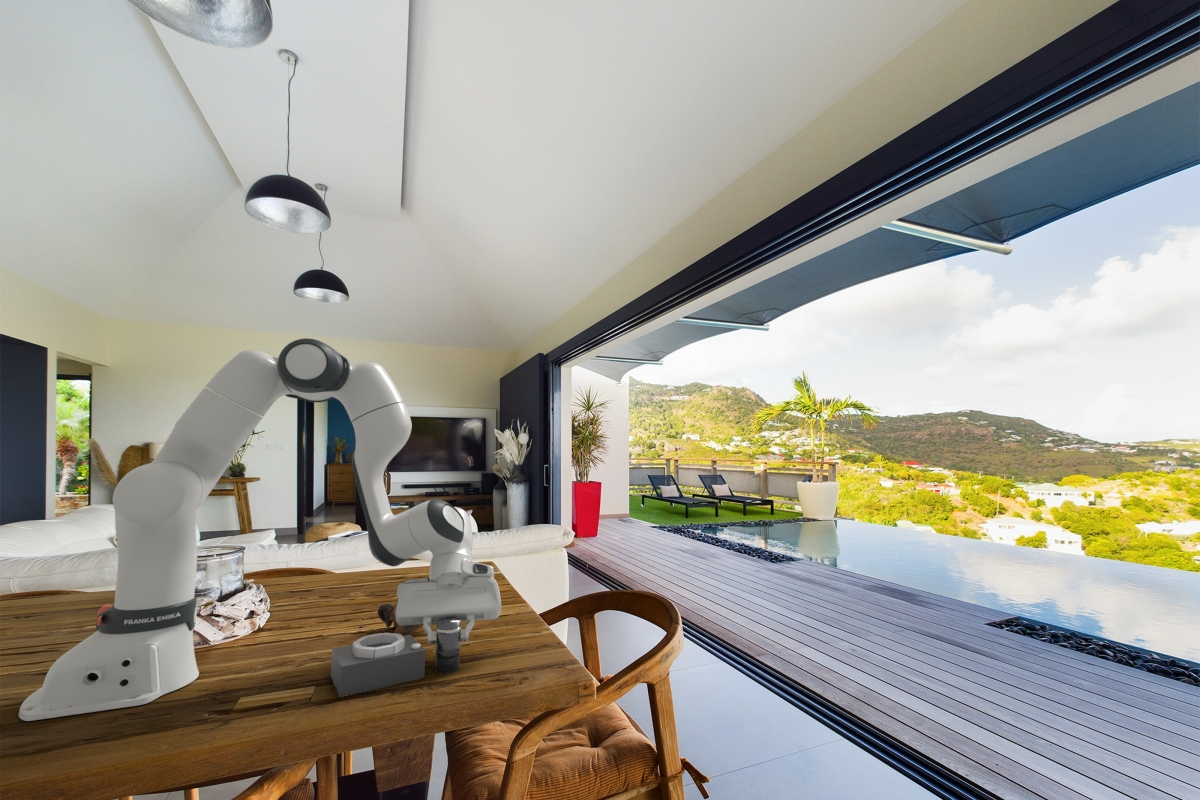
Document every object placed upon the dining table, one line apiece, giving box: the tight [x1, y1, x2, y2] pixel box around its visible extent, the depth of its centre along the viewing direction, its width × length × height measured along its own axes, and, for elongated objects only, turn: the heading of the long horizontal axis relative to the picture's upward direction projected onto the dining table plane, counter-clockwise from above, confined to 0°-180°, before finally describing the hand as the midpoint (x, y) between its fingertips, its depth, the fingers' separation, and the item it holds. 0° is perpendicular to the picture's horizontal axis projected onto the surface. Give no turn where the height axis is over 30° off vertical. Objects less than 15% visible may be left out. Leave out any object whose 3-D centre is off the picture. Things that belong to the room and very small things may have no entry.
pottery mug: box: [376, 601, 423, 636], centre depth 123 cm, size 12×10×8 cm
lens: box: [435, 617, 462, 674], centre depth 102 cm, size 5×5×9 cm
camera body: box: [330, 632, 426, 698], centre depth 98 cm, size 14×10×6 cm
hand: (448, 641), depth 102 cm, fingers closed on lens, 5 cm apart
